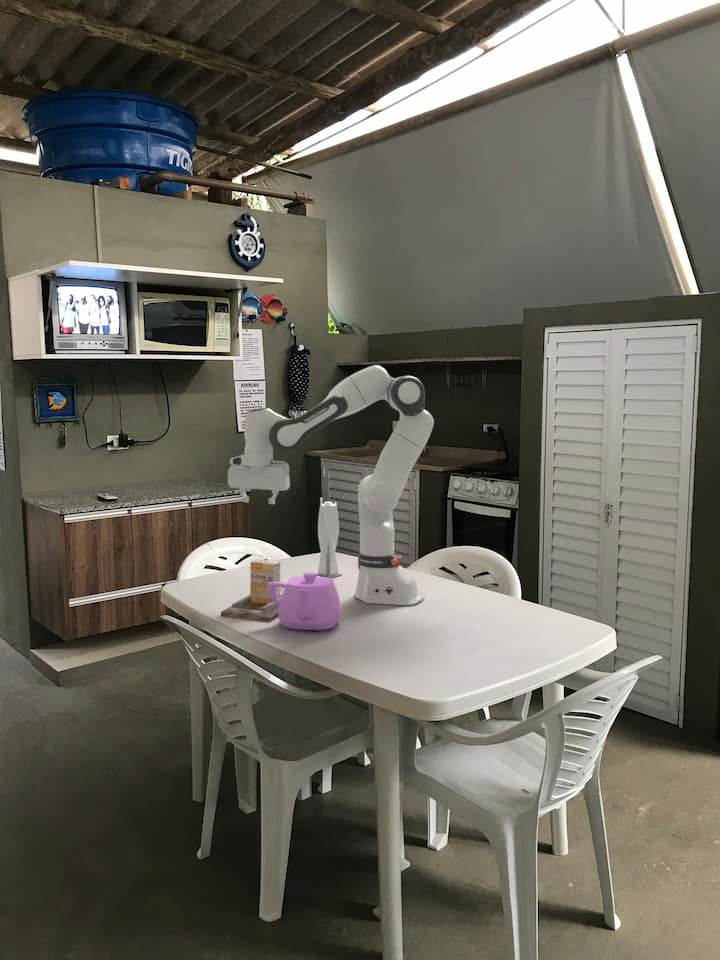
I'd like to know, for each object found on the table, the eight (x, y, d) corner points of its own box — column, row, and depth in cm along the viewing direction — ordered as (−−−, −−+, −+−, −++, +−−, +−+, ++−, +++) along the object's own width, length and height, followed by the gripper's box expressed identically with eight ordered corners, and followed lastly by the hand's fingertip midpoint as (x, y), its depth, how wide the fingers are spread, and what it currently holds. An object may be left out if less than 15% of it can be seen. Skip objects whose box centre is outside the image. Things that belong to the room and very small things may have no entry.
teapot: (272, 614, 229) (272, 565, 227) (343, 617, 227) (343, 567, 225) (255, 639, 206) (255, 584, 204) (334, 642, 204) (334, 587, 202)
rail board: (301, 601, 242) (301, 591, 242) (270, 621, 222) (270, 611, 221) (255, 596, 247) (255, 587, 247) (220, 615, 227) (220, 605, 226)
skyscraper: (311, 575, 276) (311, 497, 273) (326, 571, 282) (326, 495, 279) (328, 579, 271) (329, 500, 267) (343, 575, 277) (344, 497, 274)
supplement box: (249, 603, 236) (249, 561, 234) (256, 599, 240) (256, 558, 238) (274, 606, 233) (273, 563, 231) (280, 602, 237) (280, 560, 236)
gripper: (293, 460, 242) (293, 503, 244) (234, 457, 248) (234, 499, 250) (285, 461, 236) (285, 506, 238) (225, 459, 243) (225, 502, 244)
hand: (258, 503), depth 244 cm, fingers open, 8 cm apart
